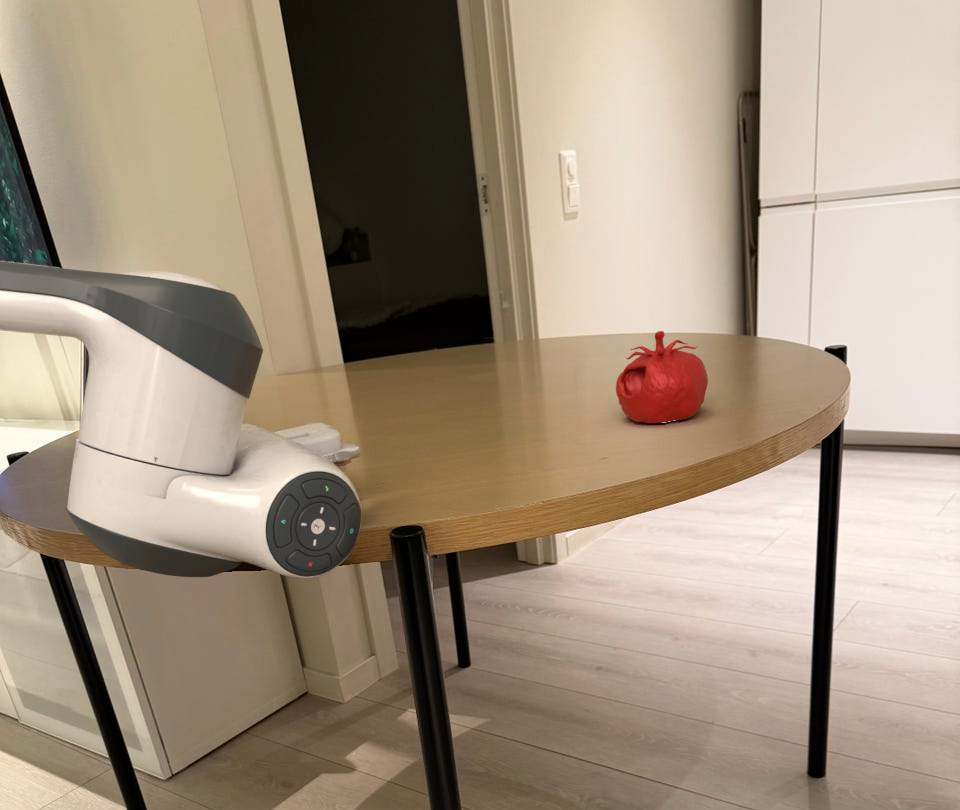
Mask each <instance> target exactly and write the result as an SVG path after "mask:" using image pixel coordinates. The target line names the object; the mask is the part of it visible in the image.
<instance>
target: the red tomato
mask: <svg viewBox="0 0 960 810" xmlns="http://www.w3.org/2000/svg"><path fill="white" fill-rule="evenodd" d="M664 337H665V332H664V331H663V330H659V331H656V332H655V333H654V340H655V349H654V350H651V349H649V348H647V347H646V346H643V345H641V346H637V347H634V348H631V349H630V350H631V351H633V352H632V353H631V354H630V355H629V356H628V357H625V359H626V360H631V359H632V358H633V357H635V356H638V357H636V358H635V359H634V360H633V361H631V362H630V363H628V364H627V365H626V366H625V368H624V369H623V371H622V372H621V373H620V374H619V375H618V377H617V379H616V383H615V393H616V396H617V399H618V404H619V405H620V406H621V410H622V413H624V414H625V415H626V416H627V418H628V419H630V420H631V421H633V422H636V423H639V422H646V423H645V424H651V423H662V422H668V421H673V420H682V421H684V420H687V419H690V418H692V417H694V416H695V414H696V413H697V412H698V411H699V409H700V408H701V407H702V405H703V404H704V402H705V398H706V393H707V389H708V385H709V378H708V377H709V376H708V372H707V369H706V367H705V363H704V362H703V360H702V359H701V358H700V357H699V356H698V355H696V354H694V353H691V352H688V351H683V350H682V349H690V350H695V349H697V348H698V346H690V345H687V343H686V342H684V341H682V340H680V339H675V340H674V341H672V342H670V343H669V344H668V345H667V346H665V345H664ZM677 343H678V344H682V345H683V346H680V347H675V346H676V345H677ZM637 349H638V350H639V349H640V350H642V351H643V352H641V351H634V350H637ZM683 419H684V420H683Z"/></svg>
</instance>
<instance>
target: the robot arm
mask: <svg viewBox="0 0 960 810" xmlns="http://www.w3.org/2000/svg"><path fill="white" fill-rule="evenodd" d="M2 331H3V332H12V333H23V334H34V335H43V336H44V335H45V336H55V337H65V338H66V337H67V338H73V339H76V340H78V341H80V342H81V343H82V344H83V345H84V346H85V349H86V350H87V353H88V358H89V359H88V369H87V370H88V372H87V378H86V383H85V391H84V398H83V403H82V411H81V417H80V424H79V429H78V437H77V439H75V446H74V452H73V453H74V454H73V459H72V466H71V473H70V479H69V480H70V481H69V487H68V488H69V489H68V497H67V507H66V508H65V510H66V512H67V514H68V516H69V518H70V520H71V522H72V523H73V524H74V526H75V528H77V529H78V531H79V532H80V533H81V534H82V535H83V536H84V537H85V538H86V539H87V540H88V541H89V543H91V544H92V545H94V546H95V547H96V548H97V549H98V550H99V551H100V552H101V553H103V554H104V555H105V556H107V557H109V558H111V559H112V560H115V561H117V562H119V563H121V564H122V565H123V564H124V565H126V566H129V567H131V568H134V569H138V570H141V571H145V572H148V573H154V574H159V575H164V576H165V575H166V576H169V577H180V578H209V577H214V576H217V575H220V574H223V573H225V572H229V571H231V570H233V569H235V568H237V567H239V566H240V565H243V563H247V564H249V565H254V566H255V567H259V568H262V569H265V570H267V571H270V572H272V573H275V574H278V575H280V576H285V577H287V578H293V579H302V580H303V579H305V580H307V579H310V580H311V579H315V578H320V577H322V576H325V575H327V574H329V573H330V572H332V571H334V570H335V569H337V568H338V567H339V566H340V565H342V563H343V562H344V561H345V560H346V559H347V558H348V557H349V555H350V554H351V553H352V552H353V549H354V548H355V546H356V543H357V541H358V538H359V535H360V531H361V526H362V517H363V513H362V504H361V500H360V496H359V493H358V492H357V489H356V486H355V485H354V484H353V482H352V481H351V479H350V478H349V477H348V475H346V474H345V472H346V471H347V465H348V464H350V463H352V460H354V459H358V458H361V453H362V450H361V449H360V447H359V446H358V445H356V444H353V443H343V439H342V436H341V433H340V431H339V430H338V429H336V428H335V427H334V426H332V425H331V424H329V423H326V422H312V423H308V424H304V425H299V426H295V427H290V428H286V429H281V430H277V431H271V430H268V429H266V428H264V427H261V426H259V425H256V424H250V423H243V421H244V416H245V411H246V406H247V401H248V399H250V398H251V394H252V390H253V387H254V383H255V380H256V376H257V373H258V370H259V366H260V363H261V360H262V356H263V353H264V348H263V345H262V343H261V340H260V337H259V334H258V332H257V330H256V328H255V325H254V323H253V322H252V320H251V318H250V316H249V314H248V313H247V311H246V309H245V308H244V306H243V304H242V303H241V302H240V300H239V299H238V297H237V296H236V295H235V294H234V293H231V292H228V291H227V290H225V289H223V287H220V286H219V285H217V284H214V283H212V282H210V281H209V280H205V279H203V278H200V277H196V276H193V275H190V274H185V273H180V272H179V273H178V272H172V271H162V270H161V271H157V270H154V271H152V270H151V271H150V270H149V271H147V270H146V271H145V270H143V271H125V272H124V271H123V272H102V271H92V270H91V271H90V270H82V269H73V268H63V267H60V266H49V265H41V264H34V263H25V262H14V261H6V260H0V332H2Z"/></svg>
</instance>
